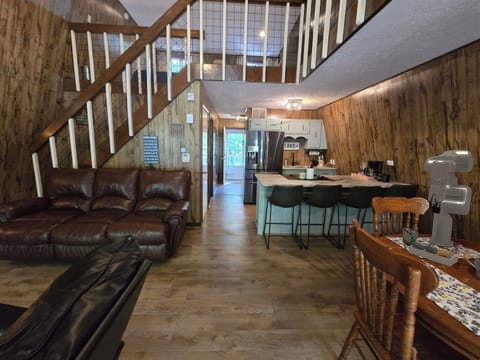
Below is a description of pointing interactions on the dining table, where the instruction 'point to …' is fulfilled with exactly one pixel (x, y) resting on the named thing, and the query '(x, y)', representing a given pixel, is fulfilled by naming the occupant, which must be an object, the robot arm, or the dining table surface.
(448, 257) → the grey tray
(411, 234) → the food container
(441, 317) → the dining table surface
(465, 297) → the dining table surface
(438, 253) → the rocker
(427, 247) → the rocker
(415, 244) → the rocker
